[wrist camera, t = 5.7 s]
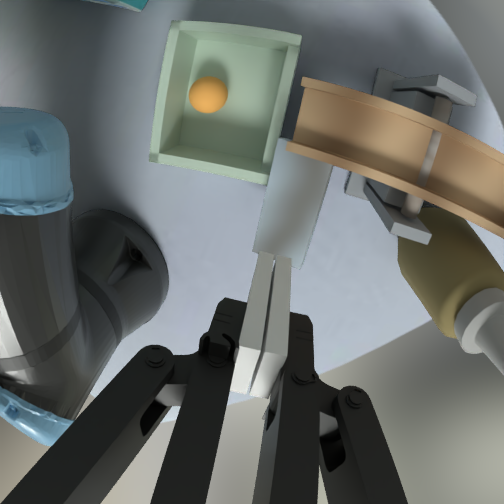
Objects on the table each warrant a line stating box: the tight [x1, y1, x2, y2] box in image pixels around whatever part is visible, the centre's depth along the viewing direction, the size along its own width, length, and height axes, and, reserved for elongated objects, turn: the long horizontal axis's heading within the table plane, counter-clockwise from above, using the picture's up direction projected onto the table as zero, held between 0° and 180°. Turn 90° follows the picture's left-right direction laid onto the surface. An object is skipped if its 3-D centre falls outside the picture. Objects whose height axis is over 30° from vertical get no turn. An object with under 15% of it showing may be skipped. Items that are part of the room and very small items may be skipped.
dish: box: [149, 21, 302, 186], centre depth 22 cm, size 10×12×5 cm
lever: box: [252, 77, 504, 270], centre depth 19 cm, size 19×15×6 cm
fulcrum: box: [345, 68, 477, 245], centre depth 19 cm, size 6×12×10 cm, turn 169°
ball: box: [189, 76, 228, 113], centre depth 22 cm, size 3×3×3 cm
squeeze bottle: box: [398, 207, 504, 375], centre depth 19 cm, size 8×8×18 cm
